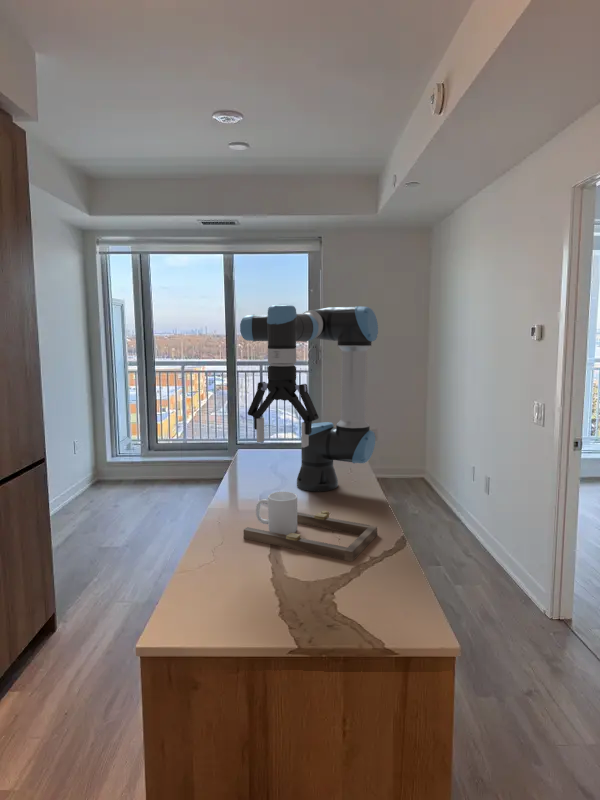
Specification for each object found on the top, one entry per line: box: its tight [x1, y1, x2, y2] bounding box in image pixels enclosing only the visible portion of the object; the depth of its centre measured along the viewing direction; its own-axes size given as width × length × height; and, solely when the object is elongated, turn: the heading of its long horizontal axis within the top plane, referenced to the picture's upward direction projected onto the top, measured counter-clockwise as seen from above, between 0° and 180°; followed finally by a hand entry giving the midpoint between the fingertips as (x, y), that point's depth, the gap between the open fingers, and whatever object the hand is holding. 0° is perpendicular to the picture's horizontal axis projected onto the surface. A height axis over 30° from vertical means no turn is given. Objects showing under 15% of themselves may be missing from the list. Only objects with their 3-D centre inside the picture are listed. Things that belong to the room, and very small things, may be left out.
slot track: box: [243, 510, 378, 562], centre depth 146 cm, size 22×32×3 cm
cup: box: [255, 491, 298, 535], centre depth 150 cm, size 8×12×10 cm
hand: (282, 444), depth 140 cm, fingers open, 13 cm apart
